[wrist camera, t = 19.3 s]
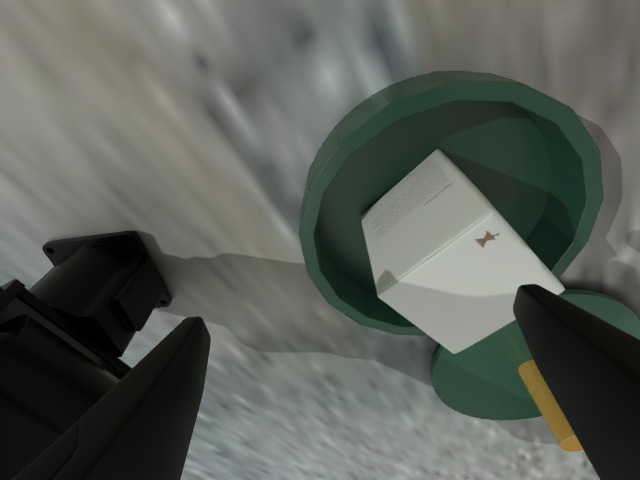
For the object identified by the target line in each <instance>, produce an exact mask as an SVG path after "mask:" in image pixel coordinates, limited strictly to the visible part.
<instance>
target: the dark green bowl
mask: <svg viewBox="0 0 640 480" xmlns="http://www.w3.org/2000/svg"><path fill="white" fill-rule="evenodd" d="M437 149H440V150H441V151H442V152H443V153H444V154H445V155H446V156H447V157H448V158H449V159H450V160H451V161H452V162H453V163H454V164H455V165H456V166H457V167H458V168H459V169H460V170H461V171H462V172H463V173H464V174H465V175H466V176H467V178H468V179H469V180H470V181H471V182H472V183H473V184H474V185H475V186H476V187H477V188H478V190H479V191H480V192H481V193H482V194H483V195H484V196H485V197H486V199H487V200H488V201H489V202H490V203H491V204H492V205H493V206H494V208H495V209H496V210H497V211H498V212H499V213H500V214H501V216H502V217H503V218H504V219H505V220H506V221H507V222H508V224H509V225H510V226H511V227H512V228H513V229H514V230H515V231H516V233H517V234H518V235H519V236H520V237H521V238H522V240H523V241H524V242H525V243H526V244H527V245H528V246H529V248H530V249H531V250H532V251H533V252H534V253H535V254H536V256H537V257H538V258H539V259H540V260H541V261H542V262H543V263H544V265H545V266H546V267H547V268H548V269H549V270H550V271H551V272H552V274H553V275H554V276H555V277H556V278H557V279H559V278H560V277H561V275H562V274H563V273H564V271H565V270H566V269H567V268H568V266H569V265H570V264H571V262H572V261H573V260H574V259H575V257H576V256H577V255H578V253H579V252H580V251H581V250H582V248H583V247H584V246H585V245H586V243H587V242H588V240H589V237H590V234H591V231H592V228H593V226H594V223H595V220H596V217H597V214H598V212H599V209H600V206H601V203H602V200H603V187H602V174H601V160H600V151H599V148H598V146H597V145H596V143H595V142H594V140H593V139H592V137H591V136H590V134H589V133H588V131H587V130H586V128H585V127H584V126H583V124H582V123H581V121H580V120H579V118H578V117H577V115H576V114H575V112H574V111H573V109H571V108H570V107H569V106H567V105H565V104H563V103H561V102H559V101H557V100H555V99H553V98H551V97H549V96H547V95H545V94H543V93H541V92H539V91H537V90H535V89H533V88H531V87H529V86H527V85H525V84H523V83H520V82H517V81H514V80H510V79H507V78H504V77H501V76H498V75H495V74H491V73H475V72H463V71H447V72H432V73H429V74H425V75H420V76H416V77H412V78H409V79H406V80H404V81H401V82H398V83H396V84H393V85H391V86H389V87H387V88H385V89H383V90H381V91H379V92H377V93H376V94H374V95H372V96H371V97H369V98H368V99H366V100H365V101H364V102H362V103H361V104H359V105H358V106H357V107H355V108H354V109H353V110H352V111H351V112H350V113H349V114H348V115H347V116H345V117H344V118H343V119H342V120H341V121H340V122H339V123H338V124H337V126H336V127H335V128H334V129H333V131H332V132H331V133H330V134H329V136H328V137H327V139H326V140H325V142H324V143H323V145H322V146H321V148H320V149H319V151H318V153H317V155H316V158H315V160H314V162H313V163H312V165H311V166H310V169H309V174H308V179H307V183H306V188H305V194H304V199H303V204H302V209H301V220H300V230H299V237H300V241H301V246H302V251H303V255H304V260H305V265H306V270H307V273H308V275H309V277H310V278H311V280H312V281H313V282H314V284H315V285H316V287H317V288H318V289H319V291H320V292H321V294H322V295H323V296H324V298H325V299H326V300H327V302H328V303H329V304H330V305H331V306H333V307H334V308H336V309H337V310H339V311H340V312H342V313H343V314H345V315H346V316H348V317H350V318H351V319H353V320H354V321H356V322H357V323H359V324H361V325H364V326H367V327H371V328H375V329H378V330H382V331H385V332H389V333H392V334H396V335H427V334H426V333H425V332H423V331H422V330H421V329H419V328H418V327H417V326H415V325H414V324H413V323H411V322H410V321H409V320H407V319H406V318H405V317H403V316H402V315H401V314H400V313H398V312H397V311H396V310H394V309H393V308H392V307H390V306H389V305H388V304H386V303H385V302H383V301H382V300H381V299H379V298H378V296H377V291H376V286H375V281H374V277H373V272H372V267H371V263H370V258H369V254H368V249H367V245H366V240H365V236H364V231H363V227H362V222H361V216H362V215H363V214H364V213H365V212H366V211H367V210H368V209H369V208H371V207H372V206H373V205H374V204H375V203H376V202H377V201H378V200H379V199H381V198H382V197H383V196H384V195H385V194H386V193H387V192H389V191H390V190H391V189H392V188H393V187H394V186H395V185H396V184H398V183H399V182H400V181H401V180H402V179H403V178H404V177H406V176H407V175H408V174H409V173H410V172H411V171H412V170H413V169H415V168H416V167H417V166H418V165H419V164H420V163H421V162H423V161H424V160H425V159H426V158H427V157H428V156H429V155H430V154H431V153H433V152H434V151H435V150H437ZM427 336H429V335H427Z"/></svg>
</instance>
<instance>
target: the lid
mask: <svg viewBox="0 0 640 480" xmlns="http://www.w3.org/2000/svg"><path fill="white" fill-rule="evenodd" d="M558 296H560V297H562V298H564V299H565V300H567V301H569V302H571V303H573V304H575V305H576V306H578V307H580V308H582V309H584V310H586V311H588V312H589V313H591V314H593V315H595V316H597V317H599V318H600V319H602V320H604V321H606V322H608V323H610V324H612V325H613V326H615V327H617V328H619V329H621V330H623V331H625V332H626V333H628V334H630V335H632V336H634V337H636V338H637V339H639V340H640V320H639V318H638V317H637V315H636V314H635V313H634V312H633V311H632V310H631V309H630V308H629V307H628V306H627V305H625V304H624V303H622V302H621V301H619V300H618V299H616V298H613V297H611V296H609V295H606V294H603V293H599V292H596V291H589V290H582V289H565V291H563V292H562V293H560V294H559V295H558ZM431 380H432V383H433V387H434V390H435V392H436V394H437V395H438V397H439V398H440V399H441V400H442V401H443V402H444V403H445V404H446V405H447V406H448V407H450V408H452V409H453V410H455V411H457V412H460V413H462V414H465V415H468V416H471V417H476V418H481V419H489V420H517V419H526V418H532V417H538V416H543V417H544V419H545V421H546V423H547V424H548V426H549V428H550V430H551V432H552V433H553V435H554V437H555V439H556V440H557V442H558V444H559V446H560V447H561V449H563V450H565V451H580V450H583V448H582V446H581V444H580V443H579V441H578V439H577V437H576V436H575V434H574V432H573V430H572V428H571V427H570V425H569V423H568V421H567V420H566V418H565V416H564V414H563V413H562V411H561V409H560V407H559V405H558V404H557V402H556V400H555V398H554V397H553V395H552V393H551V391H550V390H549V388H548V386H547V384H546V382H545V381H544V379H543V377H542V375H541V374H540V372H539V370H538V368H537V366H536V364H535V362H534V360H533V358H532V355H531V353H530V351H529V348H528V346H527V344H526V342H525V339H524V337H523V335H522V332H521V330H520V328H519V325H518V323H517V321H516V319H515V320H514V321H512V322H510V323H509V324H507V325H505V326H504V327H502V328H500V329H499V330H497V331H495V332H494V333H492V334H490V335H488V336H487V337H485V338H483V339H482V340H480V341H478V342H476V343H475V344H473V345H471V346H470V347H468V348H466V349H464V350H462V351H460V352H458V353H456V354H453V353H451V352H450V351H449V350H447V349H446V348H445V347H443V346H442V345H441V346H440V347H439V349H438V351H437V352H436V354H435V356H434V359H433V362H432V366H431Z"/></svg>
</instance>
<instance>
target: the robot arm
mask: <svg viewBox="0 0 640 480" xmlns="http://www.w3.org/2000/svg"><path fill="white" fill-rule="evenodd" d="M128 237H129V238H131V239H132V240H130V239H129V238H128ZM53 249H54V250H53ZM43 251H44V253H45V254H46V255H47V257H48V258H49V259H50V261H51V262H52V263H53V265H54V267H53V268H52V269H51V270H50V271H49V272H48V273H47V274H46V275H45V276H44V277H43V278H41V279H40V280H39V281H38V282H37V283H36V284H35V285H34V286H33V287H32V288H31V289H30V290H29V291H28V290H27V289H26V288H24V287H25V285H24V284H22V283H21V282H20V281H18V280H17V279H14V280H12V281H10V282H8V283H7V284H5V285H3V286H1V287H0V480H180V479H181V475H182V471H183V467H184V463H185V460H186V456H187V452H188V448H189V444H190V441H191V437H192V433H193V429H194V425H195V422H196V418H197V414H198V410H199V406H200V403H201V398H202V394H203V389H204V383H205V376H206V370H207V363H208V356H209V350H210V342H211V339H210V334H209V332H208V330H207V328H206V325H205V323H204V321H203V319H202V318H201V317H199V316H197V317H188V318H186V319H184V320H183V321H182V322H181V323H180V324H179V325H178V326H177V327H176V328H175V329H174V330H173V331H172V332H170V333H169V334H168V335H167V336H166V337H165V338H164V339H163V340H162V341H161V342H160V343H159V344H158V345H157V346H156V347H155V348H154V349H153V350H151V351H150V352H149V353H148V354H147V355H146V356H145V357H144V358H143V359H142V360H141V361H140V362H139V363H138V364H137V365H136V366H135V367H134V368H131V367H130V366H128V365H127V364H126V363H124V362H123V361H122V360H120V359H119V358H118V357H121V356H122V355H123V353H124V351H125V350H126V348H127V346H128V345H129V343H130V341H131V339H132V338H133V336H134V334H135V333H136V331H141V330H142V328H143V327H144V325H145V323H146V321H147V320H148V318H149V316H150V314H151V313H152V311H153V309H154V308H160V307H167V306H169V305H170V303H171V301H172V297H171V295H170V293H169V292H168V290H167V288H166V285H165V283H164V281H163V279H162V277H161V276H160V274H159V272H158V270H157V268H156V266H155V264H154V262H153V261H152V259H151V258H150V256H149V254H148V252H147V250H146V248H145V246H144V244H143V242H142V241H141V239H140V237H139V235H138V234H137V233H135V232H133V231H124V232H116V233H109V234H101V235H93V236H86V237H78V238H70V239H63V240H55V241H49V242H47V243H46V244H45V245H44V246H43ZM513 313H514V316H515V318H516V321H517V323H518V325H519V328H520V330H521V332H522V335H523V337H524V339H525V342H526V344H527V346H528V348H529V351H530V353H531V355H532V358H533V360H534V362H535V364H536V366H537V368H538V370H539V372H540V374H541V375H542V377H543V379H544V381H545V382H546V384H547V386H548V388H549V390H550V391H551V393H552V395H553V397H554V398H555V400H556V402H557V404H558V405H559V407H560V409H561V411H562V413H563V414H564V416H565V418H566V420H567V421H568V423H569V425H570V427H571V428H572V430H573V432H574V434H575V436H576V437H577V439H578V441H579V443H580V444H581V446H582V448H583V450H584V451H585V453H586V455H587V457H588V459H589V460H590V462H591V464H592V466H593V467H594V469H595V471H596V473H597V474H598V476H599V478H600V480H640V340H639V339H637V338H636V337H634V336H632V335H630V334H628V333H626V332H625V331H623V330H621V329H619V328H617V327H615V326H613V325H612V324H610V323H608V322H606V321H604V320H602V319H600V318H599V317H597V316H595V315H593V314H591V313H589V312H588V311H586V310H584V309H582V308H580V307H578V306H576V305H575V304H573V303H571V302H569V301H567V300H565V299H564V298H562V297H560V296H558V295H556V294H554V293H552V292H551V291H549V290H547V289H545V288H543V287H541V286H539V285H537V284H526V285H520V286H519V287H518V289H517V293H516V297H515V300H514V304H513Z"/></svg>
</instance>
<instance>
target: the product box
mask: <svg viewBox="0 0 640 480" xmlns="http://www.w3.org/2000/svg"><path fill="white" fill-rule="evenodd" d="M361 222H362V227H363V231H364V236H365V240H366V245H367V249H368V254H369V258H370V263H371V267H372V272H373V277H374V281H375V286H376V291H377V296H378V298H379V299H381V300H382V301H383V302H385V303H386V304H388V305H389V306H390V307H392V308H393V309H394V310H396V311H397V312H398V313H400V314H401V315H402V316H403V317H405V318H406V319H407V320H409V321H410V322H411V323H413V324H414V325H415V326H417V327H418V328H419V329H421V330H422V331H423V332H425V333H426V334H427V335H429V336H430V337H431V338H433V339H434V340H435V341H437V342H438V343H439V344H441V345H442V346H443V347H445V348H446V349H447V350H449V351H450V352H451V353H453V354H456V353H458V352H460V351H462V350H464V349H466V348H468V347H470V346H471V345H473V344H475V343H476V342H478V341H480V340H482V339H483V338H485V337H487V336H488V335H490V334H492V333H494V332H495V331H497V330H499V329H500V328H502V327H504V326H505V325H507V324H509V323H510V322H512V321H514V320H515V319H516V318H515V316H514V313H513V304H514V300H515V297H516V293H517V289H518V287H519V286H520V285H526V284H537V285H539V286H541V287H543V288H545V289H547V290H549V291H551V292H552V293H554V294H556V295H559V294H560V293H562V292H563V291H565V288H564V286H563V285H562V284H561V283H560V281H559V280H558V279H557V278H556V277H555V276H554V275H553V274H552V272H551V271H550V270H549V269H548V268H547V267H546V266H545V265H544V263H543V262H542V261H541V260H540V259H539V258H538V257H537V256H536V254H535V253H534V252H533V251H532V250H531V249H530V248H529V246H528V245H527V244H526V243H525V242H524V241H523V240H522V238H521V237H520V236H519V235H518V234H517V233H516V231H515V230H514V229H513V228H512V227H511V226H510V225H509V224H508V222H507V221H506V220H505V219H504V218H503V217H502V216H501V214H500V213H499V212H498V211H497V210H496V209H495V208H494V206H493V205H492V204H491V203H490V202H489V201H488V200H487V199H486V197H485V196H484V195H483V194H482V193H481V192H480V191H479V190H478V188H477V187H476V186H475V185H474V184H473V183H472V182H471V181H470V180H469V179H468V178H467V176H466V175H465V174H464V173H463V172H462V171H461V170H460V169H459V168H458V167H457V166H456V165H455V164H454V163H453V162H452V161H451V160H450V159H449V158H448V157H447V156H446V155H445V154H444V153H443V152H442V151H441V150H440V149H437V150H435V151H434V152H433V153H431V154H430V155H429V156H428V157H427V158H426V159H425V160H424V161H423V162H421V163H420V164H419V165H418V166H417V167H416V168H415V169H413V170H412V171H411V172H410V173H409V174H408V175H407V176H406V177H404V178H403V179H402V180H401V181H400V182H399V183H398V184H396V185H395V186H394V187H393V188H392V189H391V190H390V191H389V192H387V193H386V194H385V195H384V196H383V197H382V198H381V199H379V200H378V201H377V202H376V203H375V204H374V205H373V206H372V207H371V208H369V209H368V210H367V211H366V212H365V213H364V214H363V215H362V216H361Z"/></svg>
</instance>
